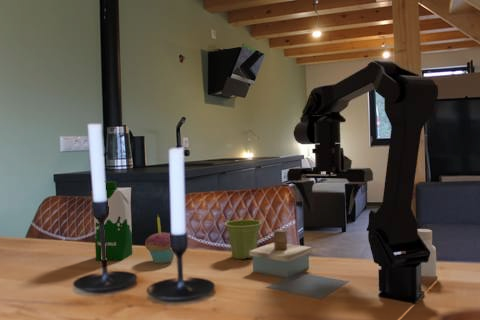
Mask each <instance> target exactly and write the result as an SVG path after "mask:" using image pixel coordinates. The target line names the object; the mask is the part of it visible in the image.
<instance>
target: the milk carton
mask: <svg viewBox="0 0 480 320" xmlns="http://www.w3.org/2000/svg"><path fill="white" fill-rule="evenodd" d="M105 182H106V190H107V198H108V206H109V215H108V217H107V219H106V220H105V222H104V230H105V242H106V258H107V260H106V261H123V260H125V259H126V258H128V257H129V256H131V255H132V254H133V238H132V237H133V235H132V234H133V232H132V230H133V229H132V209H131V201H132V200H131V197H132V195H131V194H132V187H118V186H117V181H116V180H115V181H114V180H112V181H110V180H109V181H106V180H105ZM92 197H93V192H92V191H91V198H92ZM93 221H94V223H93V224H94V247H95V260H96V261H102V260H101V245H100V226H99V222H98V220H97V219H96V218H95V217H94V216H93Z"/></svg>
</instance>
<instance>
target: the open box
mask: <svg viewBox="0 0 480 320" xmlns="http://www.w3.org/2000/svg"><path fill="white" fill-rule="evenodd" d="M309 255H310V253H307V254H305V255H303V256H300V257H298V258H296V259H294V260H291V261H289V262H286V261H280V260H274V259H268V258H262V257H256V256H253V258H252V272H253V273H259V274H265V275H269V276H275V277H281V278H289V277H291V276H293V275H295V274H297V273H302V272H303V271H305V270H308V269H309V268H310V256H309Z"/></svg>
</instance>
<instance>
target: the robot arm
mask: <svg viewBox="0 0 480 320" xmlns="http://www.w3.org/2000/svg"><path fill="white" fill-rule="evenodd" d="M373 90H374V92H375V93H377V94H378V95H379V96H380V97H381V98H383V99H384V113H385V115H386V117H387V119H388V122H389V124H390V138H389V144H388V145H389V146H388V154H387V161H386V171H385V179H384V186H383V187H384V188H383V195H382V202H381V205H379V207H378V209H370V211H369V213H368V224H367V227H366V230H365V231H366V232H368V234H367V239H368V243H369V248H370V251H371V257H372V259H373V263H374V264H376V265H378V266H379V269H378V271H377V272H378V291H379V293H378V294H377V296H378V297H379V298H384V299H389V300H395V301H398V302H399V301H400V302H404V303H410V304H412V305H416V304H417V303H418V302H419V301H420V299H422V297H424V296H425V291H424V290H422V276H421V263H423V262H425V263H426V262H428V260H429V257H430V251H429V249H428V248H427V246H426V245H425V244H424V242H423V241H422V239H421V238H420V236H419V235H418V229H419V228H418V227H419V225H418V224H419V222H418V220H417V218H416V215H415V212H413V209H412V203H413V196H414V195H413V194H414V186H415V182H416V181H415V180H416V173H417V167H418V166H417V165H418V158H419V157H418V156H419V150H420V145H421V144H420V143H421V136H422V131H423V128H424V126H425V125H426V124H427V122H428V121H429V119H431V117H432V116H433V114H434V111H435V107H436V104H437V100H438V97H439V96H438V95H439V87H438V85H437V84H436V82H435V80H433V79H432V78H431V77H428V76H422V75H420V74H418V73H415V72H413V71H411V70H408V69H406V68H404V67H401V66H400V65H399V64H397V63H395V62H394V61H392V60H391V61H389V60H373V61H370V62H369V63H368V64H367V65H366V66H364V67H363V68H361V69H359V70H357V71H356V72H354V73H352V74H351V75H349V76H347V77H345V78H343V79H342V80H340V81H338V82H337V83H334V84H327V85H321V86H317V87H314V88H313V89H312V90H311V91H310V92H309V93H310V94H309V95H308V96H307V97H308V98H307V101H306V102H305V106H304V108H303V110H302V114H301V116H300V117H299V118H300V119H299V120H300V121H298V122H297V124H296V125H295V127H294V129H293V137H294V140H295V141H296V142H297V143H298V144H300V145H314V148H312V149H311V151H312V154H314V157H315V158H314V159H315V161H314V163H315V166H312V167H294V168H289V169H288V171H287V173H286V180H287V181H288V182H289V181H291V184H292V185H295V187H296V188H297V190H298V192H299V193H300V195H301V197H302V199H303V200H304V204H305V205H306V207H307V209H308V211H309V212H310V213H311V212H313V211H314V194H313V187H314V184H315V180H313V179H326V180H327V179H331V180H332V179H334V180H335V179H339V180H347V182H346V183H344V195H345V198H344V199H345V210H346V215H351V213H352V210H353V207H354V204H355V200H356V197H357V195H358V193H359V191H360V190H361V188H362V186H366V185H367V184H368V182H371V181H374V172H373V170H372V169H371V168H370V167H352V164H353V163H352V162H353V160H352V159H351V158H350V157H348V156H346V155H345V154H344V147H341V146H342V145H341V123H345V122H347V120H346V118H345V117H344V116H343V115H341V112H342V111H344V110H345V109H346V108H348V106H349V103H350V102H351V101H352V100H354V99H357V98H359V97H361V96H363V95H365V94H367V93H369V92H371V91H373ZM310 179H311V180H310ZM401 252H403V253H401ZM404 252H405V253H404ZM395 253H397V254H395Z"/></svg>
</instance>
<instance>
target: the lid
mask: <svg viewBox="0 0 480 320" xmlns="http://www.w3.org/2000/svg"><path fill="white" fill-rule="evenodd" d="M287 234H288V233H287V229H286V230H285V229H277V230H273V240H274V241H273V242H271V243H268V244H266V245H262V246H259V247H257V248H256V249H253V250H251V251H249V255H250V256H256V257H262V258H268V259H274V260H280V261H286V262H289V261H291V260H294V259H296V258H298V257H300V256H303V255H305V254H307V253H309V254H310V253H312V252H313V251H312V250H313V247H312V246H306V245H298V244H292V243H291V244H289V243H288V238H287V237H288V236H287Z"/></svg>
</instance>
